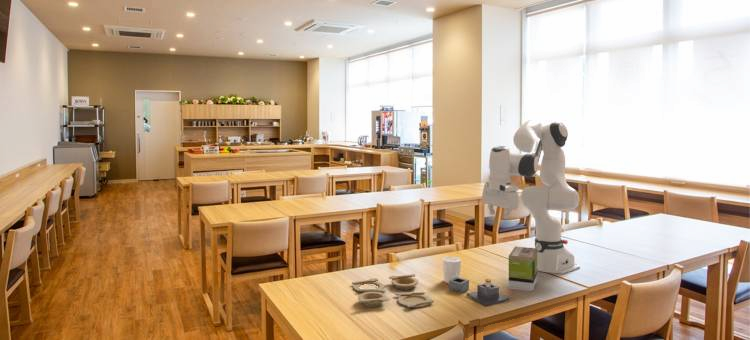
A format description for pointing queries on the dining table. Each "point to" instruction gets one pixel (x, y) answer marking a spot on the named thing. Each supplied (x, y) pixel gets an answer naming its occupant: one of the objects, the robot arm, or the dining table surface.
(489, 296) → the link
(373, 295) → the tableware set
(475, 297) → the post
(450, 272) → the white cup
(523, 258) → the tea box
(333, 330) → the dining table surface
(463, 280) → the link
